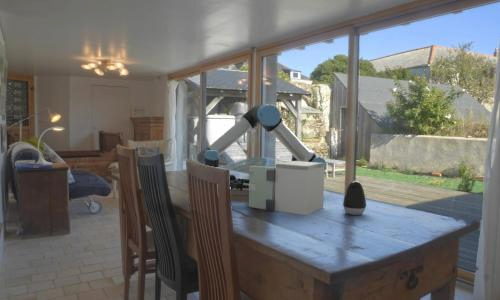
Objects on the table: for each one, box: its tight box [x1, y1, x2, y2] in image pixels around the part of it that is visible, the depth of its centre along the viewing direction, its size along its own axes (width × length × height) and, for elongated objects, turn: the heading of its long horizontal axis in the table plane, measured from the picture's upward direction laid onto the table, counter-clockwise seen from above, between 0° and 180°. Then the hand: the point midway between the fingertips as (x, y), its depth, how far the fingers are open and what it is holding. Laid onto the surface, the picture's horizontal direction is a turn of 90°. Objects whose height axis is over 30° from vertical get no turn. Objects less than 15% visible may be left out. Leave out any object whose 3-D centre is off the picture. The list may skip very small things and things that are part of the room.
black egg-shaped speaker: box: [342, 180, 367, 216], centre depth 177 cm, size 10×10×15 cm
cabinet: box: [274, 160, 325, 216], centre depth 185 cm, size 20×16×22 cm
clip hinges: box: [265, 170, 276, 212], centre depth 184 cm, size 7×4×19 cm, turn 147°
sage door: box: [248, 165, 276, 210], centre depth 186 cm, size 4×13×20 cm, turn 57°
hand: (262, 185), depth 187 cm, fingers open, 12 cm apart
